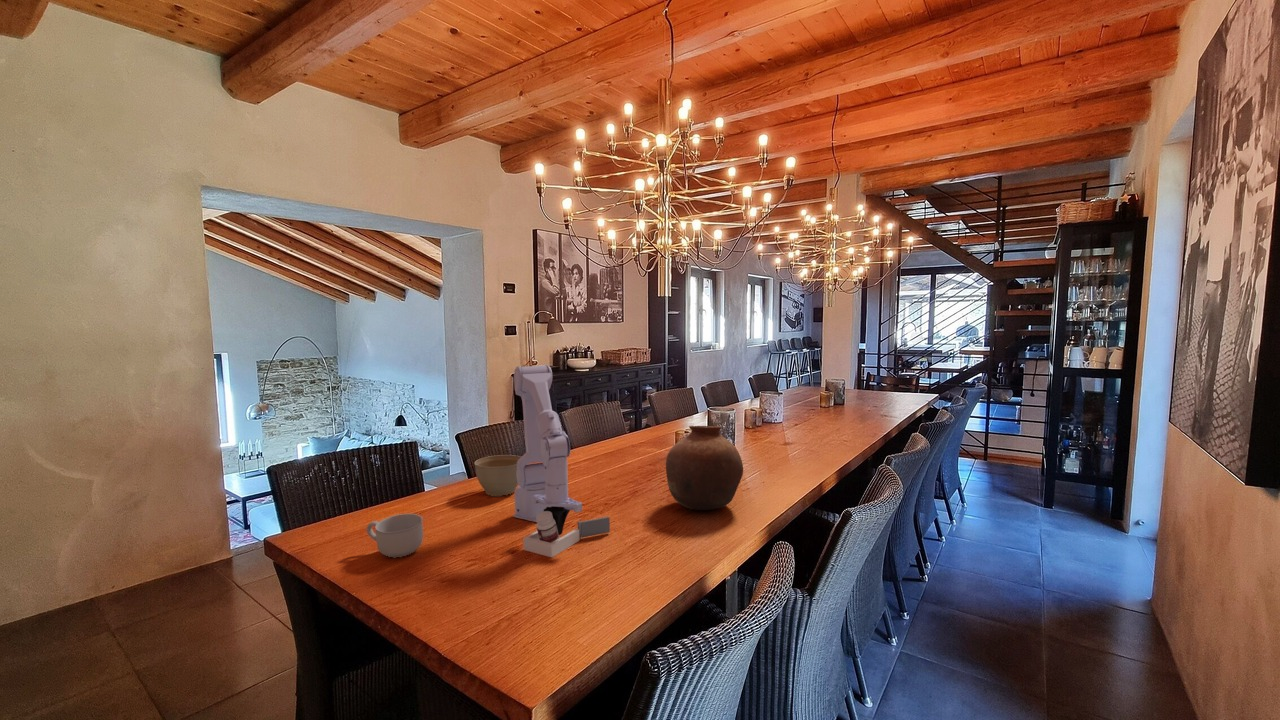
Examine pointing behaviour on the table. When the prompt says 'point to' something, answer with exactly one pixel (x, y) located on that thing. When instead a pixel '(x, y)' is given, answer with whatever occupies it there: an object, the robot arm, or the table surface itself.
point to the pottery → (703, 469)
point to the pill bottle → (546, 527)
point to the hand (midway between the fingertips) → (557, 534)
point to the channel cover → (594, 527)
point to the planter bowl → (497, 474)
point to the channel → (550, 549)
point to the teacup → (397, 534)
